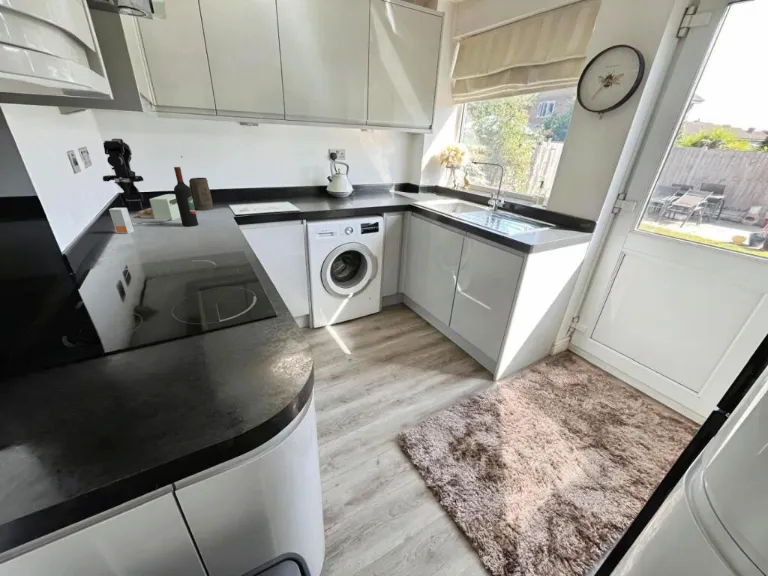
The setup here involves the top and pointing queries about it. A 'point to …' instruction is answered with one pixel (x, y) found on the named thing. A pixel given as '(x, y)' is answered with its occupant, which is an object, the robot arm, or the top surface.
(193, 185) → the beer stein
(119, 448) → the top surface
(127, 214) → the skincare box
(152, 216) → the tray
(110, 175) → the robot arm
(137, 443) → the top surface
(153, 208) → the pale green box
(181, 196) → the wine bottle
